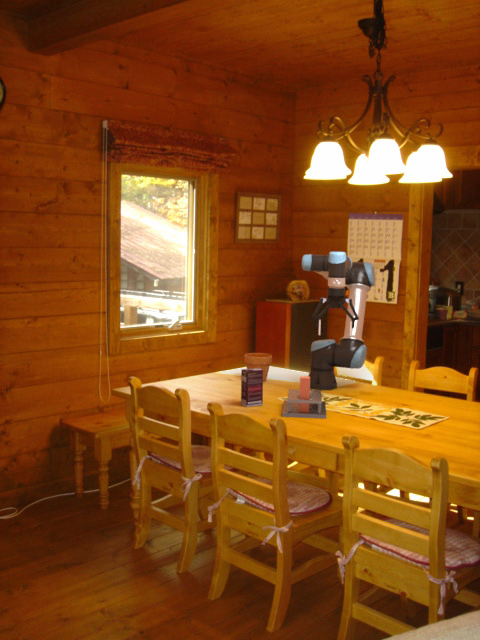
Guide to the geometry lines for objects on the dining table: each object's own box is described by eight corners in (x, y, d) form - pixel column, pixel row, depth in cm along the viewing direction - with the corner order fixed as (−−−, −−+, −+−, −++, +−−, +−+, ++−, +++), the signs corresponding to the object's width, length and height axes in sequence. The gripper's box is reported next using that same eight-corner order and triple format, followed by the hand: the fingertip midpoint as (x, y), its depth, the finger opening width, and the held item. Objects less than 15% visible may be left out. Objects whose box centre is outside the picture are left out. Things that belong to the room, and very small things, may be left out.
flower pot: (245, 376, 380) (246, 352, 379) (272, 378, 378) (273, 353, 377) (241, 382, 366) (242, 356, 365) (270, 383, 364) (270, 357, 363)
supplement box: (256, 403, 320) (257, 367, 319) (262, 405, 316) (263, 369, 314) (240, 405, 316) (240, 369, 314) (245, 407, 312) (246, 370, 310)
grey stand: (281, 416, 297) (282, 385, 296) (283, 403, 321) (284, 374, 319) (326, 418, 296) (327, 387, 294) (325, 405, 319) (326, 376, 318)
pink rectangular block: (299, 411, 300) (300, 378, 299) (299, 409, 304) (300, 376, 303) (308, 411, 300) (310, 378, 298) (308, 409, 304) (310, 376, 302)
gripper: (307, 287, 316) (306, 335, 319) (365, 288, 314) (364, 337, 317) (307, 285, 324) (306, 332, 326) (364, 287, 321) (362, 334, 324)
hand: (334, 335), depth 321 cm, fingers open, 13 cm apart
